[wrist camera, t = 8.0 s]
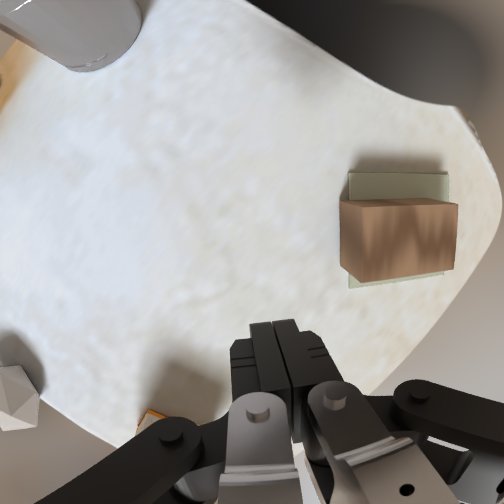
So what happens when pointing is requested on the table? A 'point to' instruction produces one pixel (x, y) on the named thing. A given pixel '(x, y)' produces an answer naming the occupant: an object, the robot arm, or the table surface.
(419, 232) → the walnut block
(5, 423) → the die
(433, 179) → the mat
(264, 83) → the table surface
